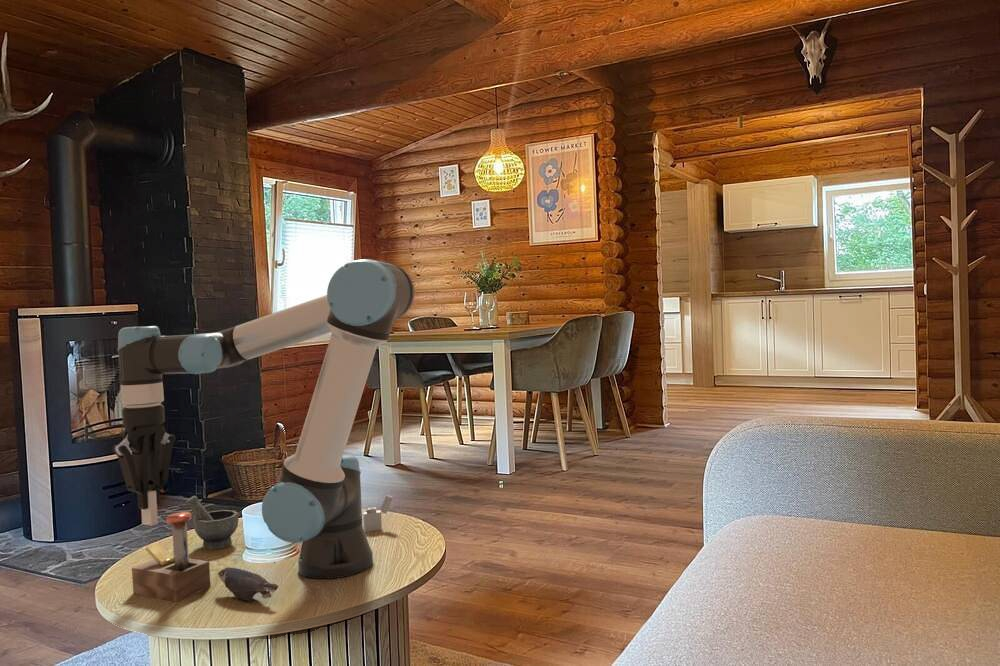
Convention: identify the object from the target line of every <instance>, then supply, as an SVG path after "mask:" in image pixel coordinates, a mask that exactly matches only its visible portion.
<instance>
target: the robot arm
mask: <svg viewBox="0 0 1000 666" xmlns="http://www.w3.org/2000/svg"><path fill="white" fill-rule="evenodd" d="M415 291H416V289H415V285H414V282H413V280H412V277H411V276H410V275H409V273H408V272H407V271H406V270H405V269H404V268H403V267H401V266H400V265H397V264H395V263H393V262H385V261H379V260H374V259H370V258H366V259H365V258H363V259H356V260H352V261H349V262H347V263H345V264H343V265H342V266H340V267H339V268H338V269H337V270H336V271H335V272H334V273H333V274H332V276H331V277H330V280H329V283H328V285H327V290H326V295H323V296H320V297H317V298H313V299H311V300H308V301H305V302H303V303H299V304H296V305H293V306H290V307H288V308H285V309H282V310H280V311H275V312H273V313H270V314H268V315H265V316H264V315H263V316H261V317H258V318H256V319H252V320H250V321H247V322H244V323H241V324H237V325H236V326H232V327H229V328H226V329H223V330H220V331H217V332H208V333H194V334H181V335H180V334H178V335H176V334H175V335H162V333H161V331H160V328H159V326H157V325H150V326H149V325H148V326H129V327H122V328H120V330H118V333H117V335H118V337H117V338H118V339H117V343H118V344H117V355H118V363H119V375H120V380H119V381H120V397H121V405H123V407H122V408H123V409H121V417H122V425H123V427H124V434H123V437H122V438H123V440H122V441H121V442H120V443H118V444H114V445H113V446H112V451H113V453H114V454H115V455H116V456H117V458H118V462H119V466H120V470H121V473H122V476H123V479H124V483H125V486H126V489H127V491H128V492H135V493H136V494H137V507H138V509H139V510H140V511H141V525H143V526H144V525H146V526H154V525H157V524H159V517H158V506H160V505H159V504H160V491H162V489H163V488H164V487H163V486H164V485H167V484H168V480H169V474H170V473H169V472H170V468H171V467H170V466H171V457H172V452H173V446H174V444H175V442H176V439H177V437H176V435H174V434H169V433H167V432H166V429H165V427H164V423H165V420H166V418H165V405H163V404H162V403H163V402H164V401H165V397H164V396H165V395H164V384H163V375H178V374H181V375H182V374H183V375H185V374H193V375H199V374H209V373H214V372H215V371H216V370H217V369H224V368H225V369H229V368H232V367H236V366H239V365H241V364H242V363H244V362H247V361H249V360H252V359H254V358H258V357H261V356H263V355H267V354H270V353H273V352H276V351H278V350H282V349H285V348H288V347H291V346H293V345H297V344H299V343H304V342H306V341H310V340H313V339H315V338H319V337H321V336H324V335H328V334H331V336H330V339H329V341H328V345H327V348H326V352H325V355H324V358H323V361H322V365H321V369H320V372H319V373H318V378H317V381H316V385H315V386H314V391H313V394H312V398H311V401H310V404H309V407H308V411H307V414H306V417H305V419H304V420H305V421H304V424H303V427H302V430H301V434H300V435H299V436H300V437H299V440H298V443H297V446H296V450H295V453H293V454H292V455H289V456H287V457H286V458H285V459H284V460H283V461H284V462H283V463H282V467H281V470H280V473H279V476H278V480H277V483H276V484H274V485H272V486H271V487H270V488H269V490H268V491H267V492H266V493H265V495H264V497H263V499H262V503H261V515H262V520H263V522H264V523H265V524H266V526H267V528H268V530H269V532H271V534H272V535H274V536H275V537H276V538H277V539H280V540H282V541H283V542H287V543H291V544H296V543H297V544H298V543H302V544H301V549H300V552H299V555H298V559H297V563H298V564H297V566H298V573H299V574H300V575H302V576H304V577H307V578H310V579H311V578H313V579H335V578H336V579H337V578H344V577H348V576H352V575H356V574H358V573H361V572H363V571H366V570H367V569H369V568H370V567H371V566H372V565H373V562H374V559H373V557H374V556H373V550H372V548H371V546H370V544H369V540H368V538H367V535H366V532H364V525H363V509H362V507H363V506H362V489H361V488H362V487H361V485H362V484H361V483H362V482H361V473H362V472H361V471H362V470H360V462H359V459H358V458H357V457H356V456H353V455H345V450H346V447H347V443H348V441H349V437H350V433H351V431H352V428H353V425H354V421H355V418H356V415H357V412H358V408H359V406H360V403H361V400H362V395H363V393H364V389H365V386H366V383H367V380H368V376H369V373H370V370H371V367H372V364H373V360H374V358H375V354H376V351H377V349H378V347H379V346H381V345H383V344H385V343H386V342H388V340H389V337H390V334H391V330H392V329H393V326H394V325H393V324H394V321H396V320H399V319H401V318H402V317H404V316H405V315H406V314H407V312H409V311H410V309H411V307H412V306H413V303H414V299H415ZM130 451H131V452H130Z"/></svg>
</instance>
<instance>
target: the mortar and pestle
mask: <svg viewBox="0 0 1000 666" xmlns="http://www.w3.org/2000/svg"><path fill="white" fill-rule="evenodd" d="M198 499H199V498H198V497H197V495H193V496H191V497H189V498H188V499H187V500H186V501H185V505H186V506H188V507H189V508H190V510H191V511H192V514H193V515H194V517H192V522H193V523H192V524H193V528H194V531H195V533H196V535H197V536H198V537H199V538H200V539H201V540H202V542H203V543H202V548H204V550H217V549H224V548H226V547H229V546H231V545H232V543H233V542H232V538H231V537H232V536H233V534H234V533H236V530H237V528H238V527H239V526H238V525H239V513H238V512H237V511H236V510H229V509H220V510H214V511H213V510H212V511H211V510H210V511H208V510H207V509H206V508H205V507H204V506H203V504H202V503H201V502H200V500H198Z"/></svg>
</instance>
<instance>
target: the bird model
mask: <svg viewBox="0 0 1000 666" xmlns="http://www.w3.org/2000/svg"><path fill="white" fill-rule="evenodd" d="M217 575H218V577H219V579H220V581H222V583H223V584H224V586H225V588H226V589H228V591H229V592H230V593H232V594H233V596H234V597H235V598H237V599H239V600H245V601H250V602H252V599H253V598H254V596H255V595H256V594H258V593H259V594H260V595H261V598H262V599H268V598H272V594H271V593H274V592H275V591H277V589H278V588H279V585H278V584H276V583H271V582H269V581H268V580H266V578H264V577H262V576H261V575H260V574H258V573H254V572H251V571H248V570H245V569H241V568H236V567H230V566H229V567H225V568H223V569H221V570H220V571H218V573H217Z"/></svg>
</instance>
